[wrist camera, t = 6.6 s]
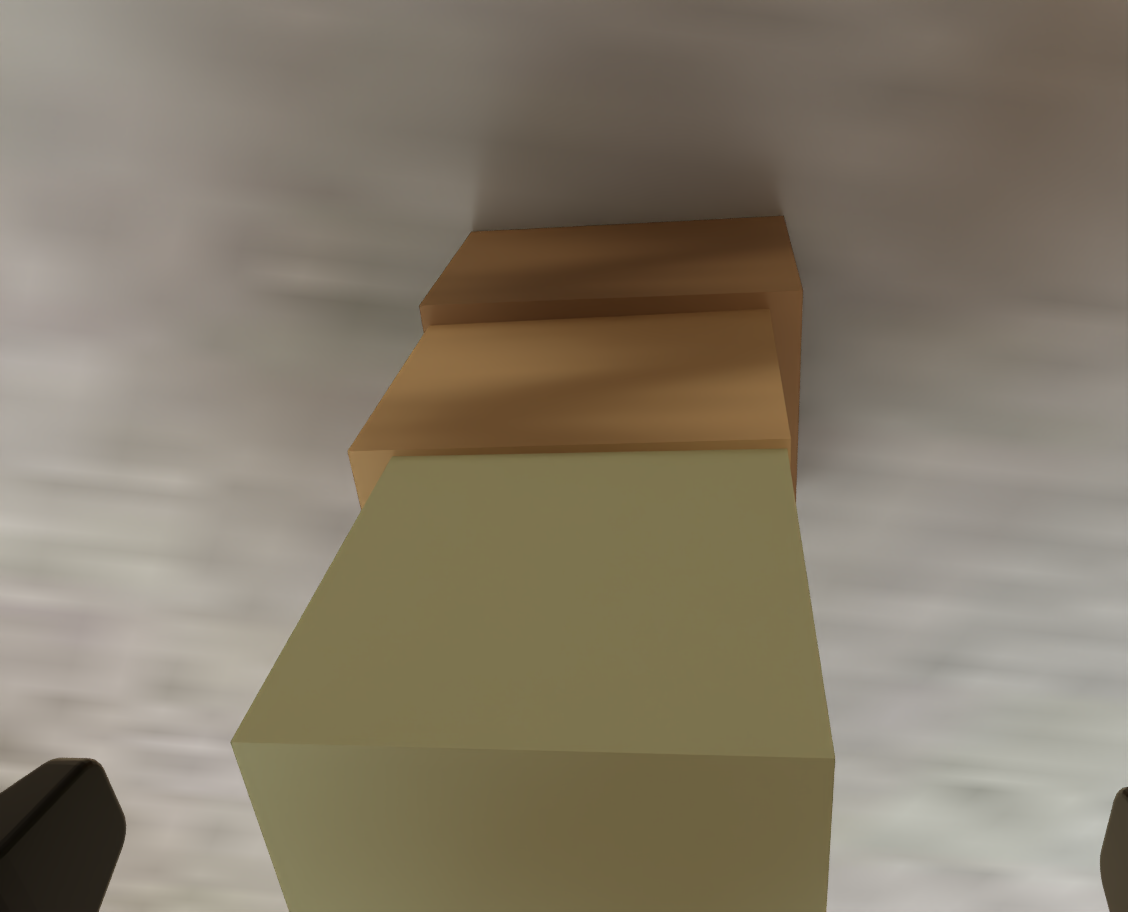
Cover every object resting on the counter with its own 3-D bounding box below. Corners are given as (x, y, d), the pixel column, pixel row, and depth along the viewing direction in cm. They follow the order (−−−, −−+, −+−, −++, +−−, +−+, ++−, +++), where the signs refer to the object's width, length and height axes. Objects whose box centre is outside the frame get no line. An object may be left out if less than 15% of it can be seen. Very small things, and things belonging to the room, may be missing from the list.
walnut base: (783, 213, 15) (802, 290, 12) (777, 486, 18) (792, 607, 15) (472, 230, 16) (418, 305, 13) (506, 489, 18) (469, 604, 15)
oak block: (769, 309, 12) (790, 438, 9) (768, 592, 15) (786, 771, 12) (429, 325, 13) (347, 451, 10) (476, 593, 15) (421, 763, 12)
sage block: (786, 447, 10) (835, 759, 6) (780, 748, 11) (815, 1112, 8) (392, 456, 10) (231, 741, 7) (448, 739, 12) (346, 1075, 9)
